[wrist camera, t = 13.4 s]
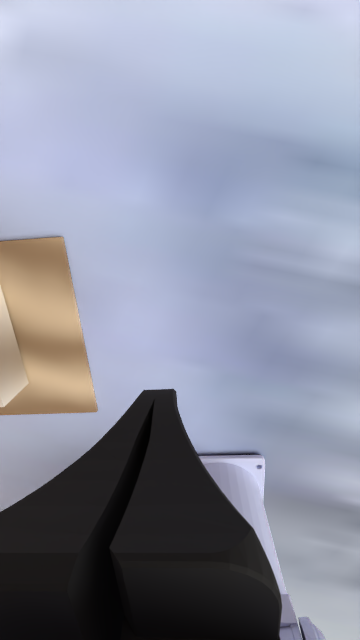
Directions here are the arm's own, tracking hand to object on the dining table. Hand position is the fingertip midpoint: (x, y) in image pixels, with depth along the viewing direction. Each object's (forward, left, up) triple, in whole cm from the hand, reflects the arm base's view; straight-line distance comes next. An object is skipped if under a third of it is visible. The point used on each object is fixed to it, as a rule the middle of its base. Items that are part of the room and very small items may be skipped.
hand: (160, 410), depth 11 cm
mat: (0, +13, -9) cm, 16 cm away
